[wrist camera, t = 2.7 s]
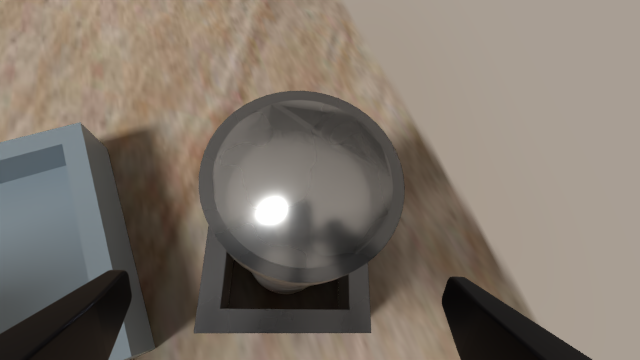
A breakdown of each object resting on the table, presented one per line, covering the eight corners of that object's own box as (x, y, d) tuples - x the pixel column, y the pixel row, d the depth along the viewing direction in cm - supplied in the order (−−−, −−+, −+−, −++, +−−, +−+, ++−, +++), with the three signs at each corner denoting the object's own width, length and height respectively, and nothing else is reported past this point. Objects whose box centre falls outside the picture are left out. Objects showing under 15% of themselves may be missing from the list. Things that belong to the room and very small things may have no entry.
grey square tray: (355, 329, 18) (371, 332, 15) (206, 329, 17) (193, 333, 14) (351, 193, 21) (363, 175, 18) (224, 186, 20) (216, 166, 17)
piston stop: (279, 319, 18) (289, 335, 7) (225, 248, 19) (155, 157, 8) (345, 259, 19) (443, 192, 8) (293, 197, 20) (317, 62, 9)
